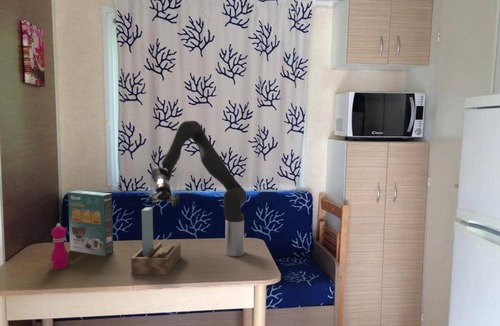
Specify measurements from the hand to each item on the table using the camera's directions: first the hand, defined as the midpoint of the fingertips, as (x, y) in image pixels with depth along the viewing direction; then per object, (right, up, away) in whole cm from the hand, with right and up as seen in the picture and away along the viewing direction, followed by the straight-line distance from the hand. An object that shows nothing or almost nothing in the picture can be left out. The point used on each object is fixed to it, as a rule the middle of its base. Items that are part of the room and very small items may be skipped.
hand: (164, 205), depth 192 cm
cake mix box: (-40, -25, +13) cm, 49 cm away
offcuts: (0, -27, -4) cm, 28 cm away
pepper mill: (-45, -27, -9) cm, 54 cm away
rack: (-2, -27, -4) cm, 27 cm away
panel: (-7, -27, -4) cm, 28 cm away
